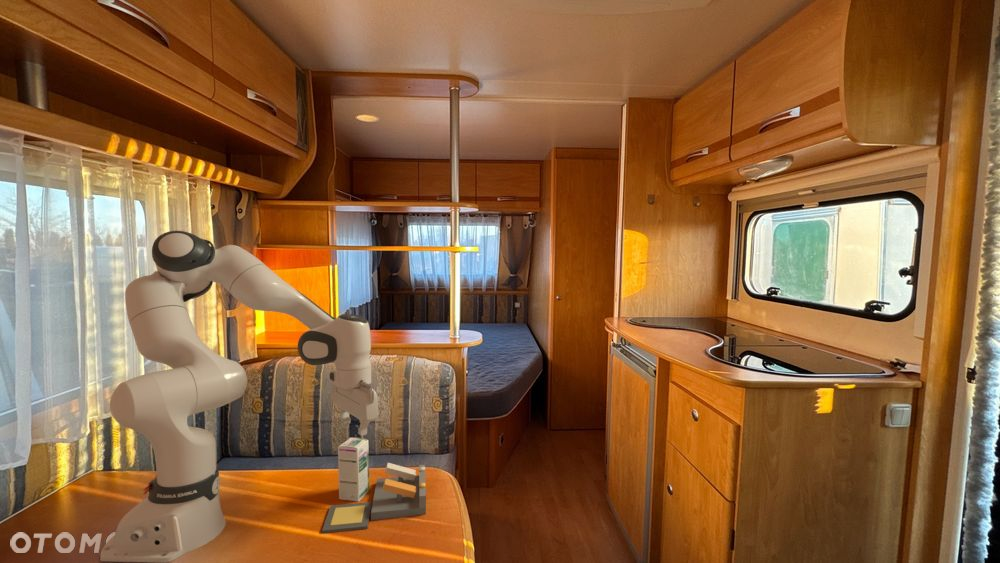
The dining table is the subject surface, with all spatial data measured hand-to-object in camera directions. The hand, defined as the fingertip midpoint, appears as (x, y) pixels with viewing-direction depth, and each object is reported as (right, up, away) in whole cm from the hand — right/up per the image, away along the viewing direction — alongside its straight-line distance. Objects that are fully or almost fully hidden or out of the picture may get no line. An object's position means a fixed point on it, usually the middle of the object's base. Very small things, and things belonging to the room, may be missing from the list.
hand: (354, 429), depth 114 cm
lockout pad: (+2, -19, -9) cm, 21 cm away
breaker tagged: (+13, -14, -4) cm, 19 cm away
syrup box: (0, -18, +1) cm, 18 cm away
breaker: (+11, -13, +4) cm, 18 cm away
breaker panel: (+12, -18, -1) cm, 22 cm away
